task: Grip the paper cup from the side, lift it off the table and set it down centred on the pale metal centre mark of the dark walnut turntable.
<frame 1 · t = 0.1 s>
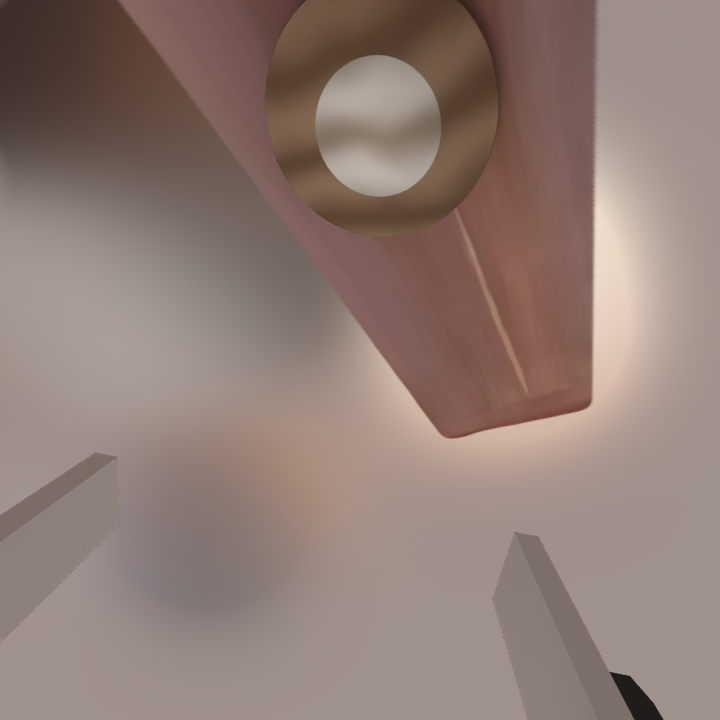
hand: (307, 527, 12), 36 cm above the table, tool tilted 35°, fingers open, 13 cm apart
turntable: (378, 130, 33), point 2 cm above the table, hinge at 0.0°
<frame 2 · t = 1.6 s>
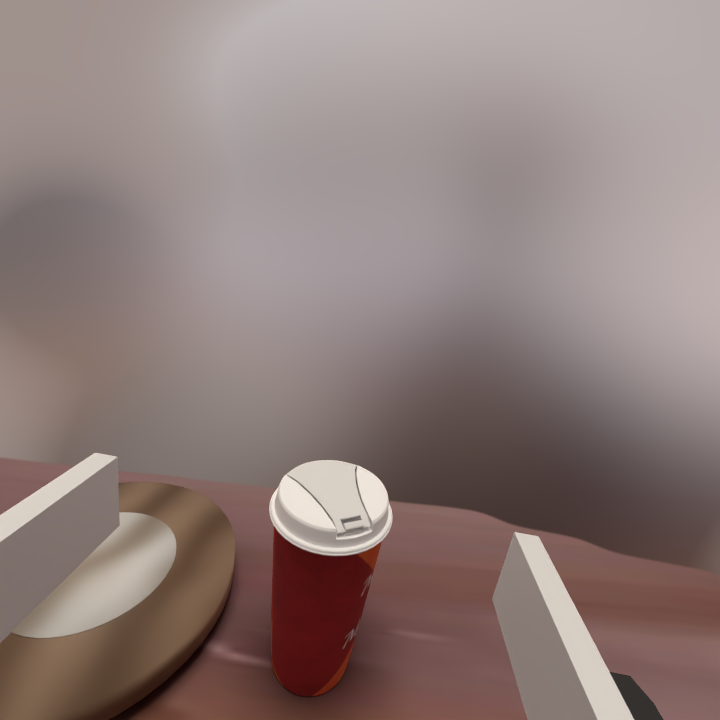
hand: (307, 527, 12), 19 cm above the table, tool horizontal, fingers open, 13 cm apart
turntable: (95, 574, 28), point 2 cm above the table, hinge at 0.0°
paper cup: (309, 654, 27), on the table
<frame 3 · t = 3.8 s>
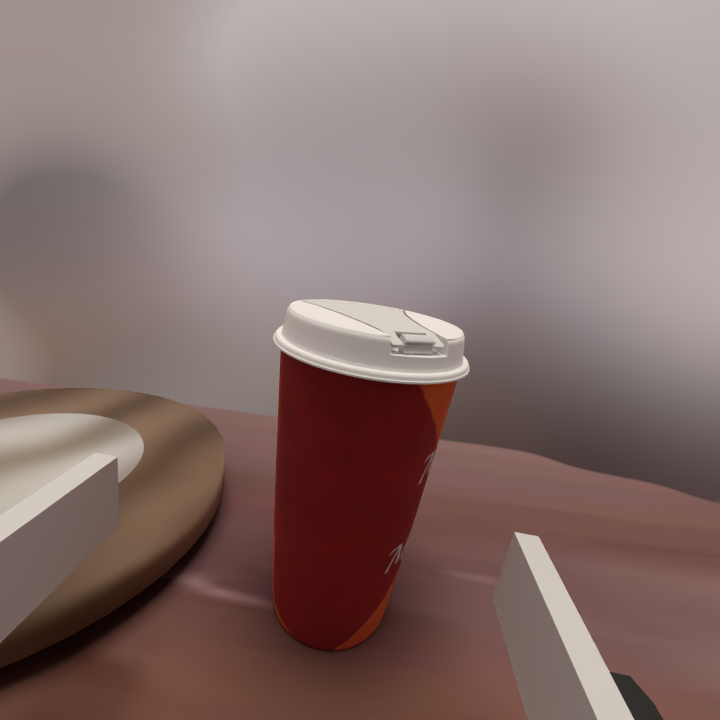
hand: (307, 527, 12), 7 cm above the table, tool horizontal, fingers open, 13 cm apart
turntable: (23, 477, 20), point 2 cm above the table, hinge at 0.0°
paper cup: (328, 594, 18), on the table
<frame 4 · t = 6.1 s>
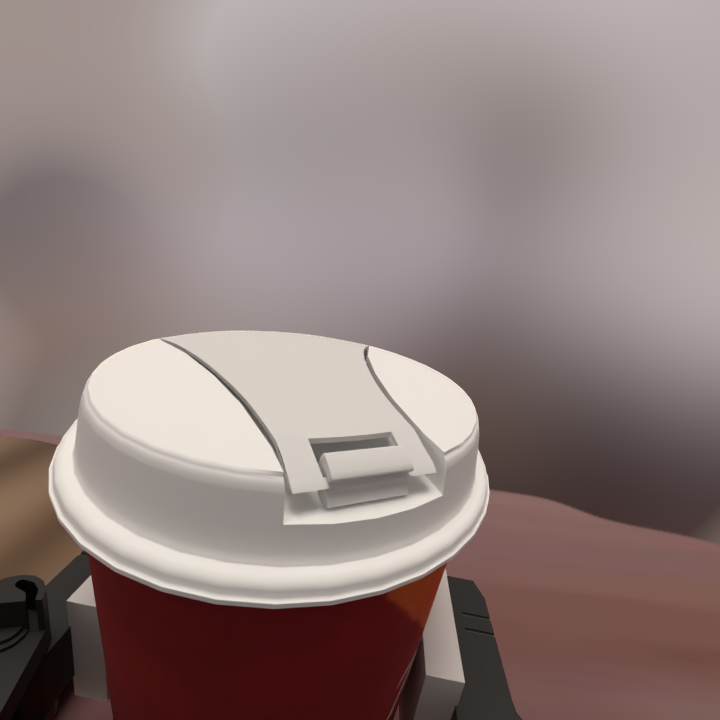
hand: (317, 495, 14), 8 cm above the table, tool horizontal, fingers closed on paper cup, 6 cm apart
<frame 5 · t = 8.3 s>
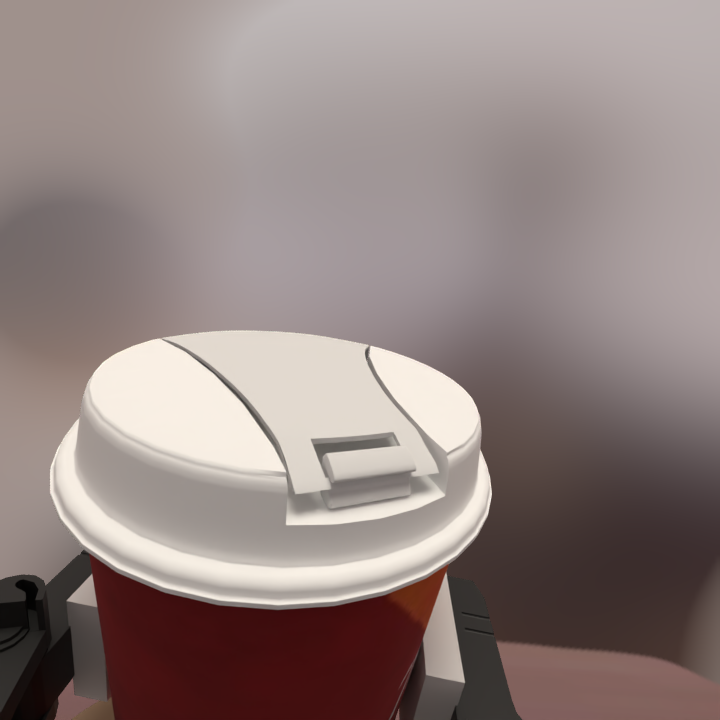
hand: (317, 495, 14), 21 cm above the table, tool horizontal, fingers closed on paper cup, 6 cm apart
when the fingers open (12 cm above the table, at t = 10.8 s): paper cup drops 1 cm, resting on turntable.
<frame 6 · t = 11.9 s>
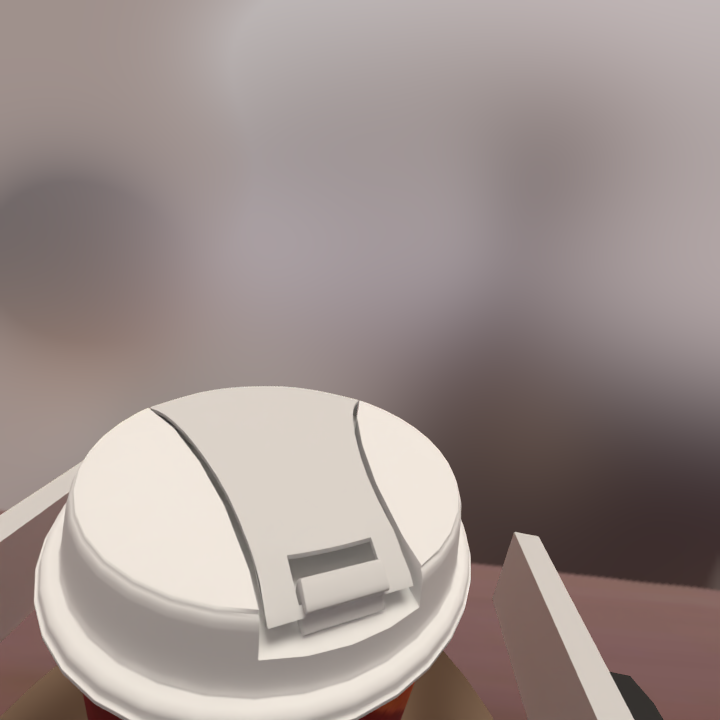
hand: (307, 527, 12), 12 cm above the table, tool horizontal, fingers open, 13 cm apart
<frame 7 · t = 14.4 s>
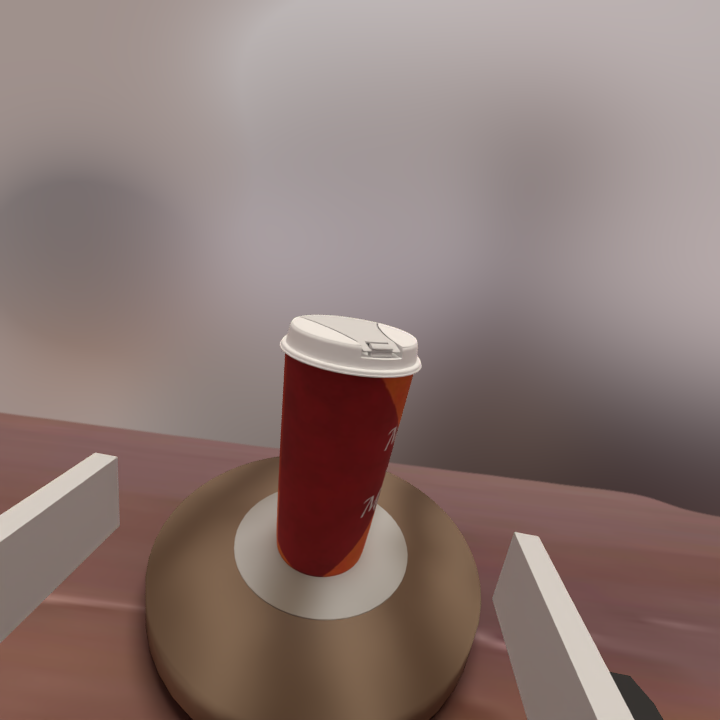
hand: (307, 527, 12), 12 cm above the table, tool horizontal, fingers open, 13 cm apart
turntable: (321, 550, 24), point 2 cm above the table, hinge at 0.0°, touching paper cup
paper cup: (319, 542, 24), point 3 cm above the table, touching turntable
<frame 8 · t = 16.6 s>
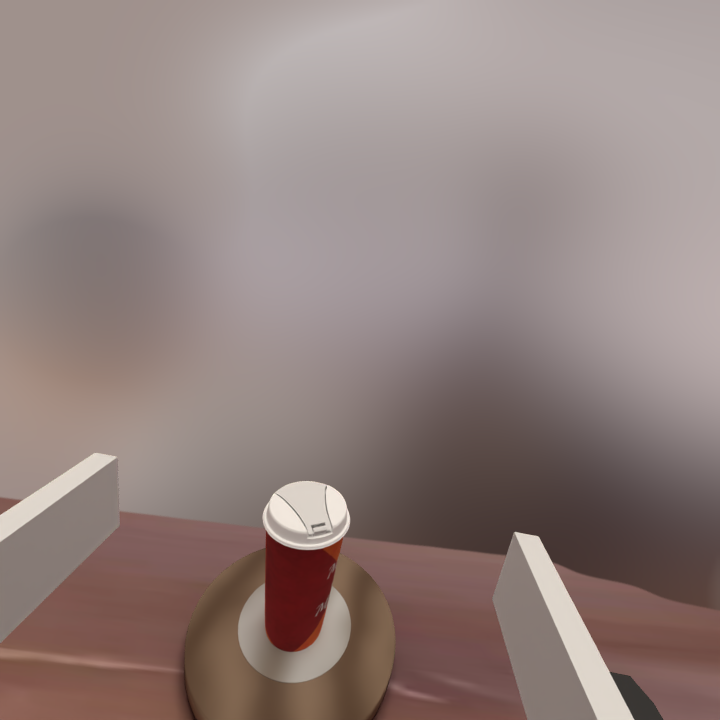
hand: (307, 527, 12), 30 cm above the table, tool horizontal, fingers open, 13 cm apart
turntable: (295, 628, 37), point 2 cm above the table, hinge at 0.0°, touching paper cup
paper cup: (293, 623, 36), point 3 cm above the table, touching turntable
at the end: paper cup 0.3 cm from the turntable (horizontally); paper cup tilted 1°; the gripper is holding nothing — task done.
